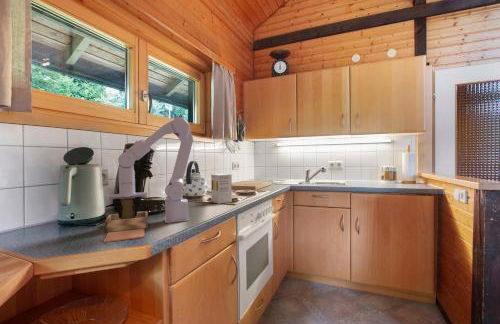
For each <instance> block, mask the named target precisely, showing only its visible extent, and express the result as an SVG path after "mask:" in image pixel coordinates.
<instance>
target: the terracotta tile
mask: <svg viewBox="0 0 500 324" xmlns="http://www.w3.org/2000/svg"><path fill="white" fill-rule="evenodd" d="M143 238H145V228H141V229H132V230H123V231H114V232H107V233H106V236H105V238H104V240H103V244H105V243H106V244H107V243H112V242H120V241H121V242H122V241H128V240H137V239H143Z"/></svg>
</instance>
